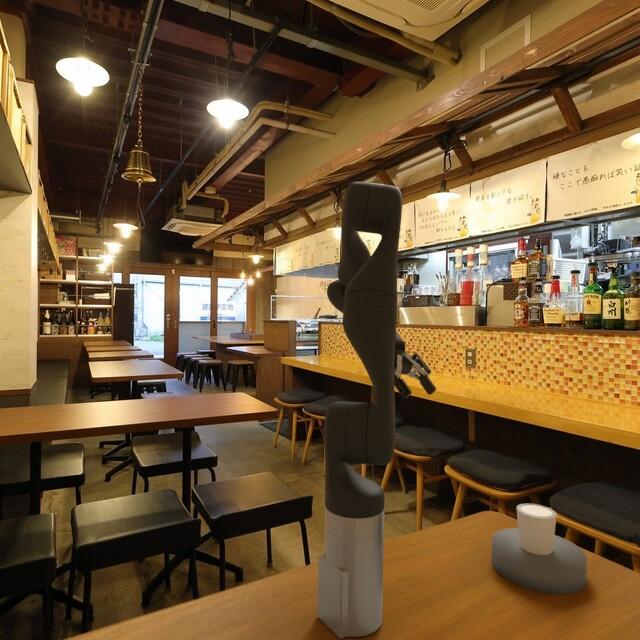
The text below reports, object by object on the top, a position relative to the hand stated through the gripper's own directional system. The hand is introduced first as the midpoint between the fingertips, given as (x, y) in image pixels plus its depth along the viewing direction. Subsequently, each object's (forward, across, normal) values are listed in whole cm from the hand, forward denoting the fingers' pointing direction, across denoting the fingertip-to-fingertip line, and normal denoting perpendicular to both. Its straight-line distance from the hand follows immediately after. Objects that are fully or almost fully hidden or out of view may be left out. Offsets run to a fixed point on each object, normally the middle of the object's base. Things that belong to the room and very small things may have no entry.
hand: (421, 394), depth 96 cm
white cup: (+34, +8, +4) cm, 35 cm away
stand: (+37, +8, +6) cm, 38 cm away
